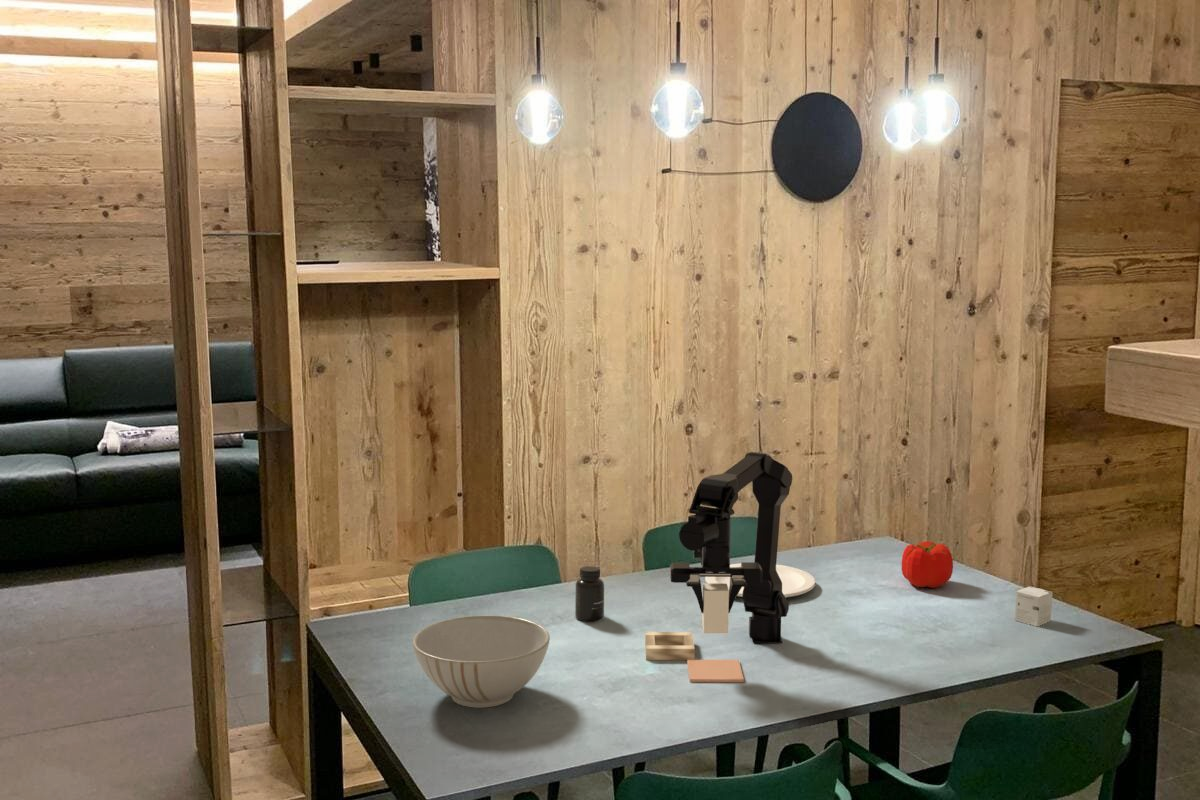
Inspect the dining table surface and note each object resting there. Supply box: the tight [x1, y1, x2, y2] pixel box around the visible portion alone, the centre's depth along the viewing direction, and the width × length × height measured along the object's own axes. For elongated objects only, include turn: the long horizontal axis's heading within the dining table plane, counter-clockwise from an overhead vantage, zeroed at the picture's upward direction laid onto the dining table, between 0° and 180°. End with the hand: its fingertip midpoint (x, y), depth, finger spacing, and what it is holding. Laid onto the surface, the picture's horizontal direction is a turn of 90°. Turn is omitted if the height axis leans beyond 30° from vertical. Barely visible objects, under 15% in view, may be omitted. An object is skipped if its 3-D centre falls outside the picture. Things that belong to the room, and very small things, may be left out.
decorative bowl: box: [412, 614, 550, 709], centre depth 236 cm, size 27×27×12 cm
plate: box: [704, 562, 816, 598], centre depth 307 cm, size 28×28×2 cm
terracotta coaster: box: [686, 659, 745, 683], centre depth 249 cm, size 11×11×1 cm
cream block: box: [701, 582, 730, 634], centre depth 247 cm, size 5×5×9 cm
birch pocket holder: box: [644, 631, 696, 661], centre depth 261 cm, size 10×10×2 cm
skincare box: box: [1014, 586, 1054, 627], centre depth 279 cm, size 6×6×7 cm
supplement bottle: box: [574, 565, 605, 623], centre depth 282 cm, size 7×7×12 cm
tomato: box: [901, 540, 954, 589], centre depth 307 cm, size 14×13×10 cm
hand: (715, 612), depth 247 cm, fingers closed on cream block, 5 cm apart
